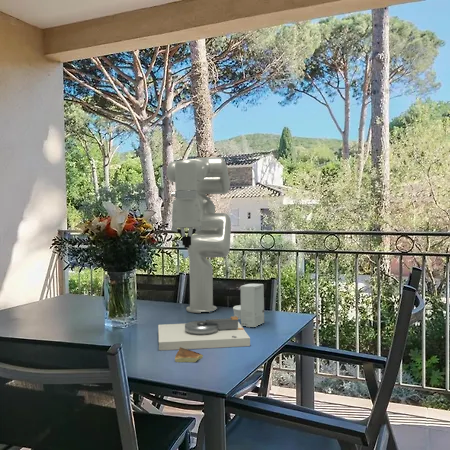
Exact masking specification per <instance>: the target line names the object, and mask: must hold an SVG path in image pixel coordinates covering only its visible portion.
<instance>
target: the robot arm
mask: <svg viewBox="0 0 450 450" xmlns="http://www.w3.org/2000/svg"><path fill="white" fill-rule="evenodd" d="M166 177H167V179H168V180H169V181H170V182H171V183H175V189H174V191H173V192H171V195H170V196H171V197H175V199H173V200H172V210H171V211H172V212H171V228H170V229H171V231H172V232H176V233H178V234H179V235H180V236H181V240H182V241H181V242H182V243H181V245H182V246H183V247H184V248H185V249H187V251H188V252H187V254H188V260H189V261H188V262H189V305H188V306H186V309H185V310H186V311H187V312H188V313H194V314H202V313H201V312H209V313H211V312H210V311H214V310H216V309H217V310H218V307H217V306H216V305H214V296H213V294H214V291H213V290H214V287H213V286H214V285H213V284H214V283H213V277H214V276H213V272H214V269H213V266H212V264H211V262H210V261H209V259H207V258H225V257H227V256H228V255H229V253H230V248H231V246H230V245H231V234H232V232H231V230H232V221H231V217H230V216H229V214H227V213H225V212H224V213H223V212H216V205H215V203H214V202H213V200H212V199H211V198H210V197H209V196H207V195H224V194H227V193H228V192H229V191H230V188H231V180H230V174H229V170H228V166H227V163H226V161H225V160H224V158H222V157H220V156H219V157H217V156H216V157H215V156H213V157H212V156H211V157H208V156H207V157H197V158H190V159H183V160H174V161H170V162H169V163H168V165H167V167H166ZM185 229H188V230H187V231H188V232H187V235H186V232H185V231H186V230H185ZM217 310H216V311H217ZM214 312H215V311H214Z"/></svg>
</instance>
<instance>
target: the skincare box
mask: <svg viewBox="0 0 450 450" xmlns="http://www.w3.org/2000/svg"><path fill="white" fill-rule="evenodd" d="M264 285H265V284H263V283H246V284H243V285H240V305H241V320H240V325H241V326H242V327H243V326H246V327H245V328H250V327H256V326H258V325H260V324H262V323H264V324H265V297H264V296H265V295H264V294H265V290H264V289H265V286H264ZM262 325H263V324H262ZM260 326H261V325H260ZM258 327H259V326H258ZM256 328H257V327H256Z"/></svg>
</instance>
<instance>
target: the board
mask: <svg viewBox="0 0 450 450" xmlns="http://www.w3.org/2000/svg"><path fill="white" fill-rule="evenodd" d="M185 324H186V323H167V324H158V325H157V326H158V330H157V331H158V351H176V350H177V351H179V349H180V347H181V348H184V349H187V350H197V349H216V348H241V347H250V346H251V337H250V335H249V334H248V333H247V332H246V330H245V329H244V327H243V326H241V322H239V321H238V329H222V330H218V331H217V332H215V333H212V334H204V335H197V334H190V333H187V332H185Z"/></svg>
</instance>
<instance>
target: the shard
mask: <svg viewBox="0 0 450 450" xmlns="http://www.w3.org/2000/svg"><path fill="white" fill-rule="evenodd" d="M174 357H175V358H174V362H175V363H196V362H197V361H198V360H201V359H203V357H204V355H203V354H201V353H199V352H196V351H193V350H192V349H184V348H181V347H180V349H179V350H177V353H176V355H175V356H174Z"/></svg>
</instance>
